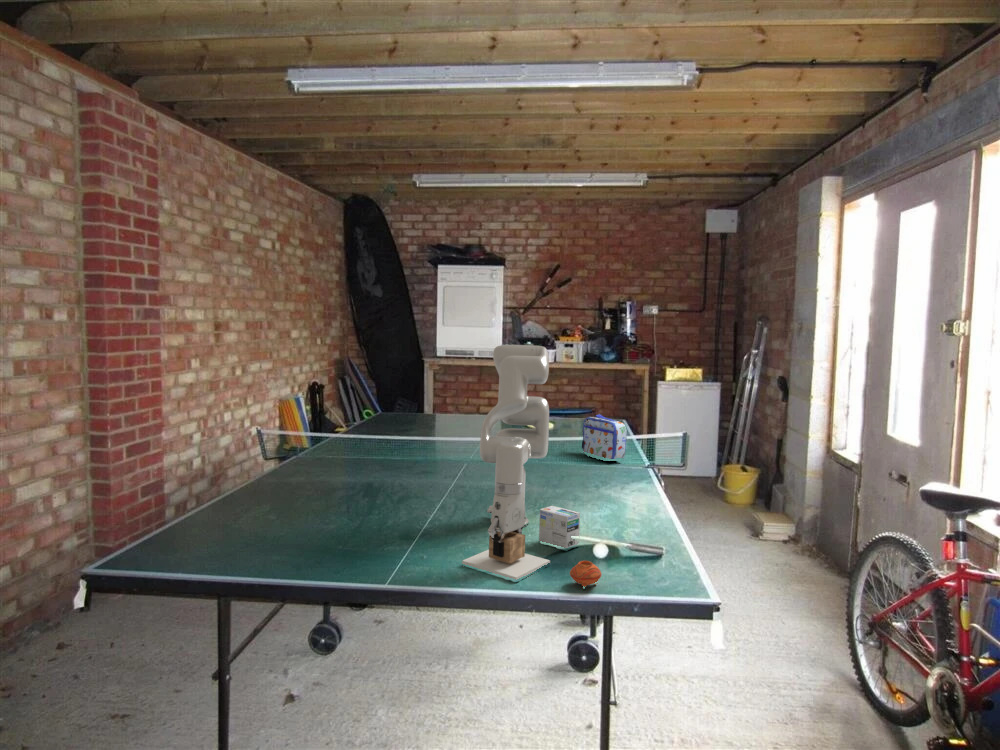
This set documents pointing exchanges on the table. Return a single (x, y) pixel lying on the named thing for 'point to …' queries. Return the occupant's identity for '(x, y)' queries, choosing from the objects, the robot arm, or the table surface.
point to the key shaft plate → (506, 564)
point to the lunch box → (604, 437)
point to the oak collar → (510, 547)
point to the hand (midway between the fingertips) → (506, 551)
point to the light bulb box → (559, 526)
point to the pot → (585, 573)
